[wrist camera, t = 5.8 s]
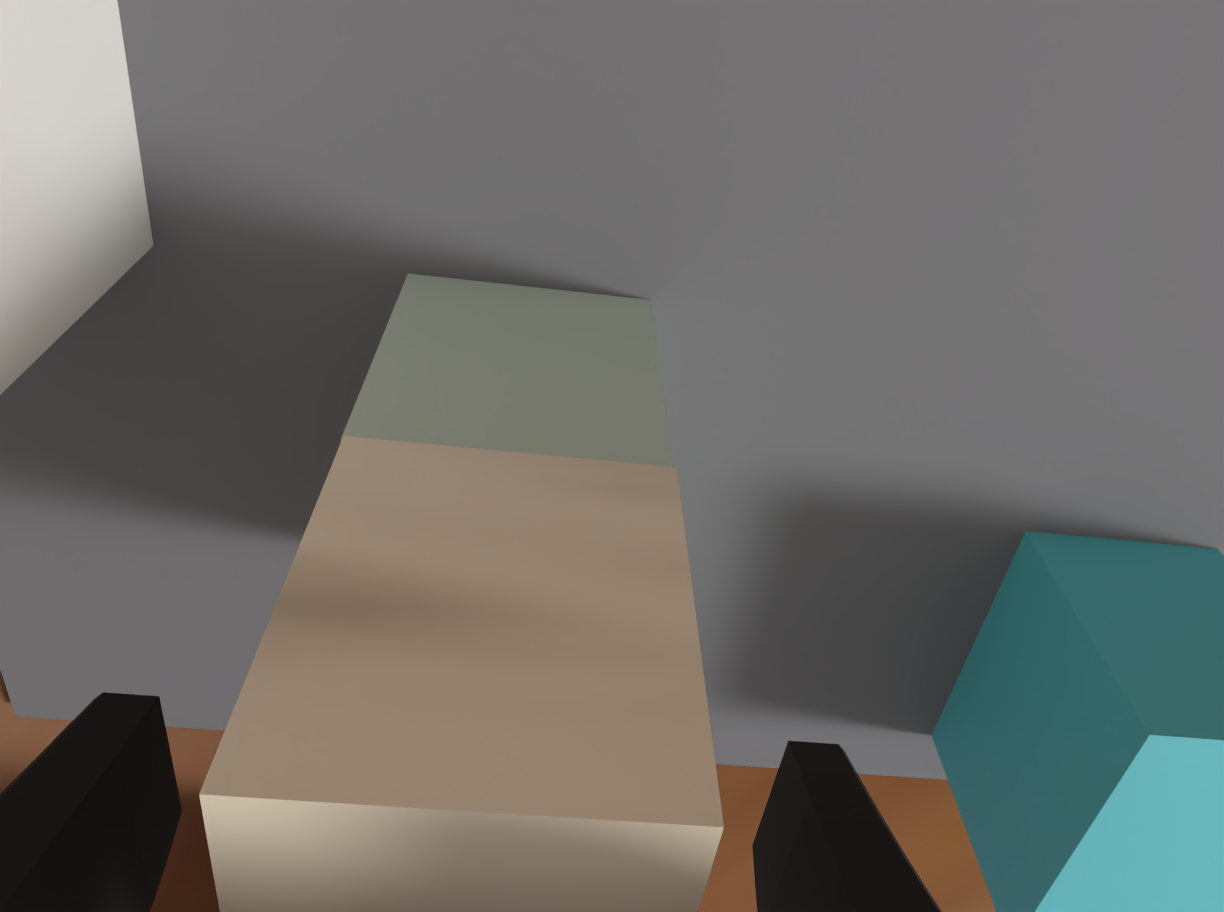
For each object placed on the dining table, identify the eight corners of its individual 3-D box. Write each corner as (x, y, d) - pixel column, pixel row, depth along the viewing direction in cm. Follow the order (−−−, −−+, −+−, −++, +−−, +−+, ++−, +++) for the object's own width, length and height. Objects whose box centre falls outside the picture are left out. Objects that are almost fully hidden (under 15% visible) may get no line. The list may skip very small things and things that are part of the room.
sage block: (607, 574, 19) (612, 784, 15) (405, 557, 19) (352, 767, 15) (651, 299, 16) (672, 470, 12) (408, 273, 16) (340, 440, 11)
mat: (1163, 784, 24) (1168, 794, 23) (22, 705, 21) (15, 716, 21) (1894, -276, 12) (1921, -278, 12) (-416, -690, 10) (-441, -702, 10)
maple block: (614, 782, 15) (622, 1153, 11) (354, 764, 15) (260, 1140, 10) (675, 467, 12) (724, 828, 7) (343, 435, 11) (199, 795, 7)
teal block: (1096, 747, 22) (1211, 959, 18) (931, 735, 22) (1010, 948, 18) (1217, 548, 19) (1392, 752, 15) (1025, 531, 19) (1149, 734, 15)
